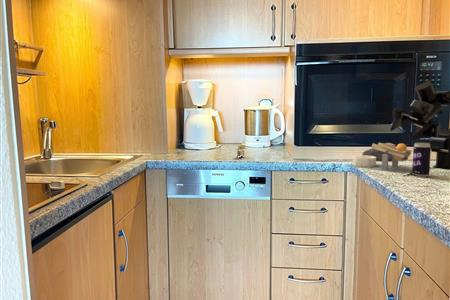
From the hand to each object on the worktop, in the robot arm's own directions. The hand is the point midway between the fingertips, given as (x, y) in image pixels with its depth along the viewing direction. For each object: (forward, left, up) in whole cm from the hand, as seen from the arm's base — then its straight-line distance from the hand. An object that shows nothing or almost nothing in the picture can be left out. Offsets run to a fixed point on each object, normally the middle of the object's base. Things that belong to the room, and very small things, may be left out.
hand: (401, 134), depth 141 cm
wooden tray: (-4, -4, -9) cm, 11 cm away
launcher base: (0, -7, -15) cm, 17 cm away
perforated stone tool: (-18, -17, -15) cm, 29 cm away
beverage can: (+1, +8, -15) cm, 17 cm away
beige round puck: (0, -15, -14) cm, 20 cm away
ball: (0, 0, -5) cm, 5 cm away
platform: (+17, -71, -16) cm, 74 cm away
